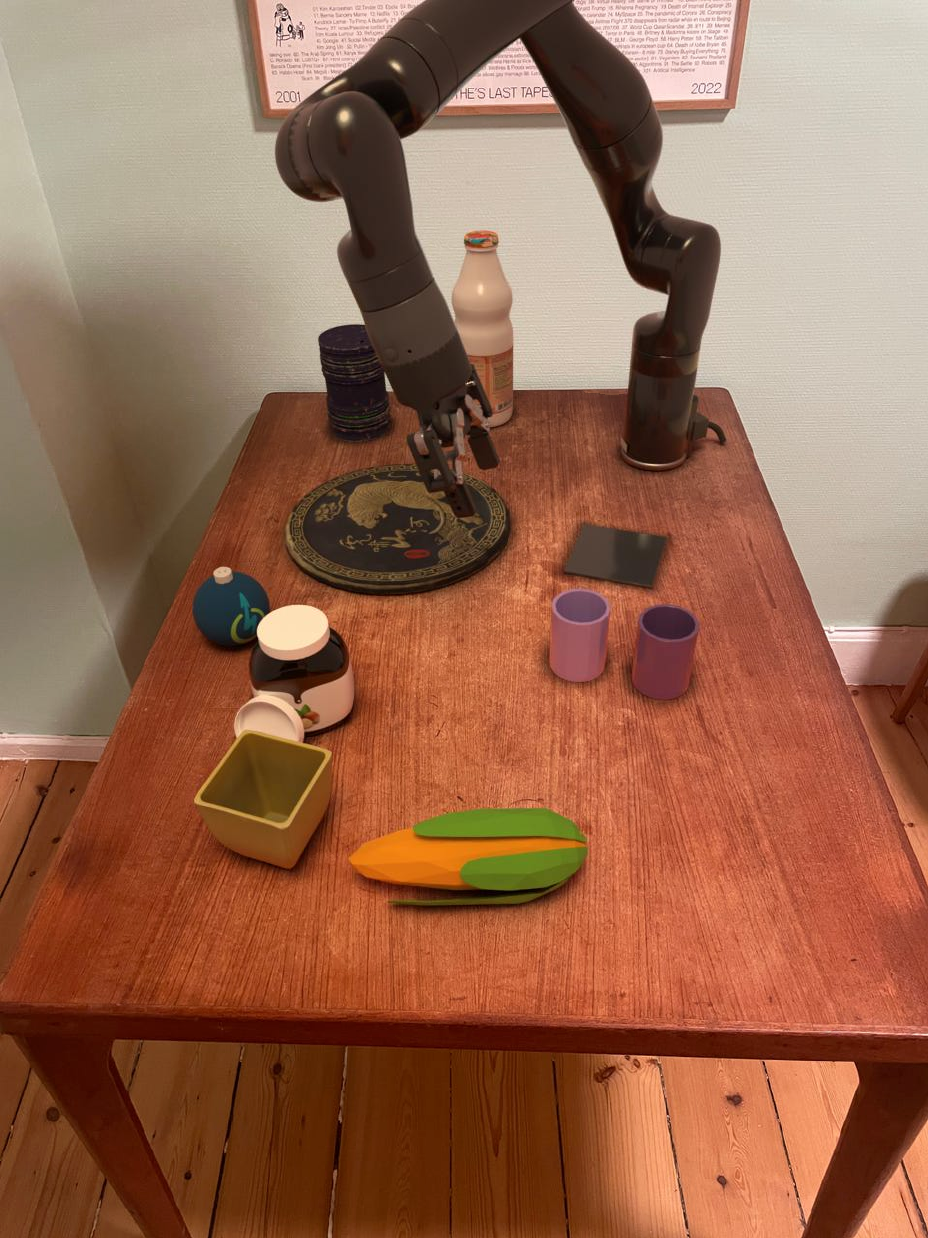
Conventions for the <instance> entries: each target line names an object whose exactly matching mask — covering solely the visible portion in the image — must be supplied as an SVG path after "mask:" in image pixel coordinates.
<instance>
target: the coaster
mask: <svg viewBox="0 0 928 1238" xmlns="http://www.w3.org/2000/svg"><path fill="white" fill-rule="evenodd" d="M667 541H668V537H667V536H661V535H655V534H649V533H644V532H643V533H642V532H636V531H630V530H623V529H617V528H611V527H605V526H597V525H592V524H586V523H584V524H583V525H582V527H581V529H580V532H579V534H578V537H577V539H576V541H575V544H574V546H573V548H572V550H571V553H570V555H569V558H568V560H567V561H566V565H565V567H564V569H563V574H565V575H571V576H577V577H582V578H588V579H593V580H600V581H604V582H611V583H617V584H622V585H627V586H634V587H638V588H639V587H640V588H645V589H650V590H652V589H653V587H654V585H655V581H656V578H657V575H658V571H659V568H660V564H661V561H662V558H663V554H664V551H665V549H666V545H667Z"/></svg>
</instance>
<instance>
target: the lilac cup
mask: <svg viewBox="0 0 928 1238" xmlns="http://www.w3.org/2000/svg"><path fill="white" fill-rule="evenodd" d="M550 606H551V609H550V633H549V653H548V654H549V656H548V657H549V667H550V669H551V671H552V672H553V673H554V674H555V675H556V676H557V677H559V678H560V679H562V680H565V681H567V682H568V681H569V682H573V683H585V682H590V681H593V680H595V679H597V678H598V677H599V676H601V675H602V674H603V672H604V670H605V667H606V662H607V653H608V652H607V651H608V643H609V642H608V641H609V630H610V619H611V609H612V607H611V605H610V602H609V600H608V599H607V598H606V597H605V596H604V595H603V594H601V593H599V592H597V591H595V590H593V589H592V590H591V589H587V588H571V589H568V590H565V591H562V592H560V593H559V594H557V595H556V596H555V597H554V598H553V600H552V603H551V605H550Z"/></svg>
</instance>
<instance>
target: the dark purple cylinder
mask: <svg viewBox="0 0 928 1238" xmlns="http://www.w3.org/2000/svg"><path fill="white" fill-rule="evenodd" d="M317 341H318V346H319V348H318V349H319V362H320V366H321V372H322V376H323V378H324V381H325V388H326V398H325V400H326V412H327V417H328V421H329V424H330V425H329V426H330V427H329V429H330V433H331V435H332V436H333V437H334V438H336V439H338V440H340V441H343V442H350V443H362V442H363V443H364V442H368V441H369V442H370V441H373V440H377V439H379V438H382V437H383V436H385V435H386V434H388V432H390V430H391V427H392V422H391V419H390V418H391V404H390V398H389V392H388V390H387V385H386V374H385V372H384V370H383V368H382V365H381V363H380V361H379V359H378V356H377V354H376V352H375V350H374V348H373V345H372V343H371V341H370V339H369V336H368V333H367V330H366V327H365V324H360V323H359V324H358V323H353V324H341V325H337V326H334V327H329V328H328V329H325V330H324V331H322V332H320V334H319V335H318V337H317Z"/></svg>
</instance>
